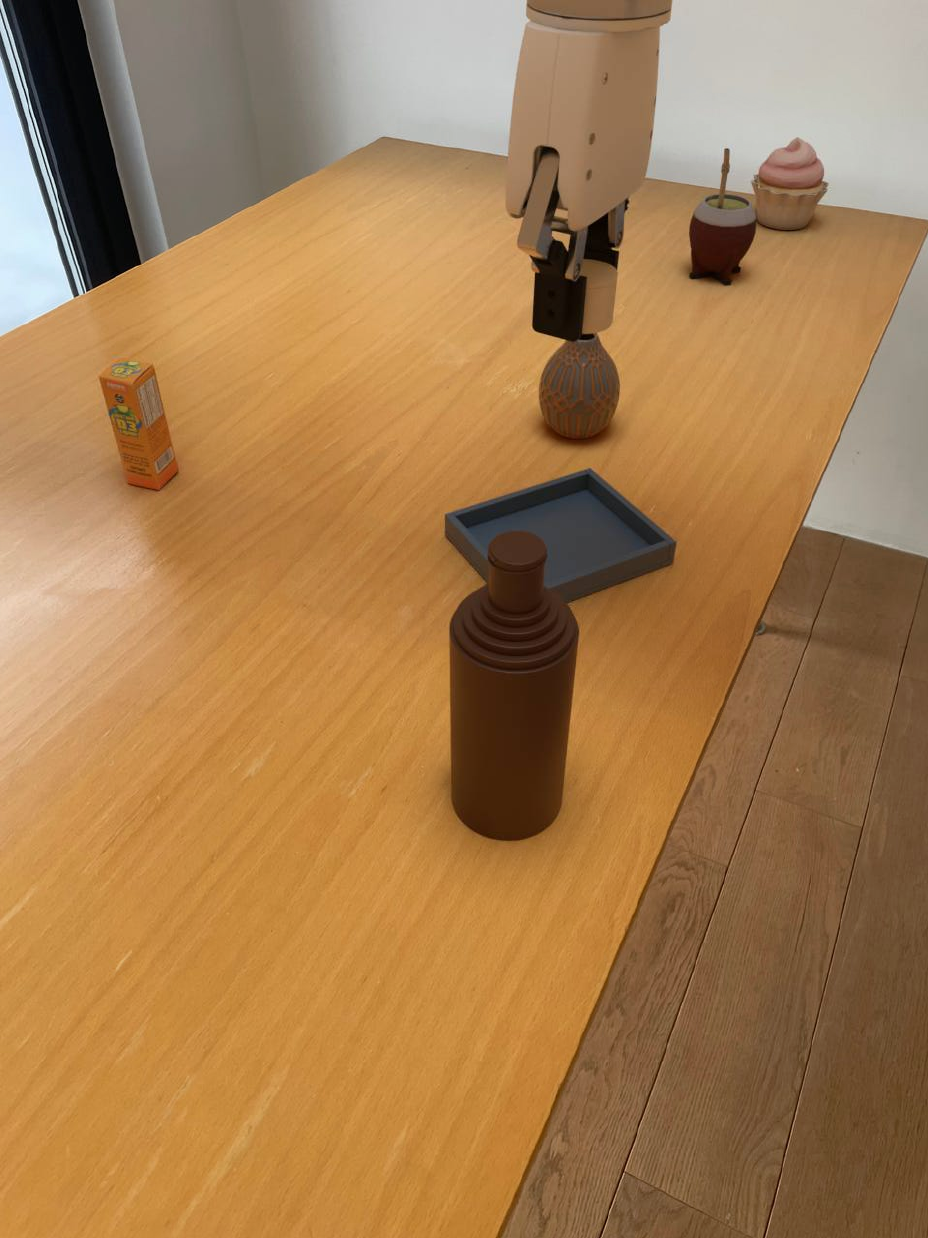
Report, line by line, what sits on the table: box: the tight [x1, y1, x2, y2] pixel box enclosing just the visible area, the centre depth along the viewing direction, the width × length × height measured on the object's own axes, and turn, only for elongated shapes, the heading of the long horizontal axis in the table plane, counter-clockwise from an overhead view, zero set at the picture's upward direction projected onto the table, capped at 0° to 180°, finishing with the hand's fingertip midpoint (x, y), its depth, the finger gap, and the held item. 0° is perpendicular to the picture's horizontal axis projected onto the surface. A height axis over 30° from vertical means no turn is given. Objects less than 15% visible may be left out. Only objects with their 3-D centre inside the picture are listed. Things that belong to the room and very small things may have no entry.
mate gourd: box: [688, 147, 757, 286], centre depth 109 cm, size 8×8×15 cm
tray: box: [444, 467, 678, 604], centre depth 75 cm, size 13×11×2 cm
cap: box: [580, 259, 619, 334], centre depth 62 cm, size 4×4×3 cm
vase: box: [538, 333, 621, 440], centre depth 86 cm, size 7×7×9 cm
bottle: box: [448, 531, 580, 841], centre depth 52 cm, size 6×6×18 cm
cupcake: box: [750, 136, 830, 231], centre depth 123 cm, size 9×9×10 cm
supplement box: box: [98, 357, 179, 491], centre depth 80 cm, size 3×3×10 cm
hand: (573, 318), depth 64 cm, fingers closed on cap, 3 cm apart
